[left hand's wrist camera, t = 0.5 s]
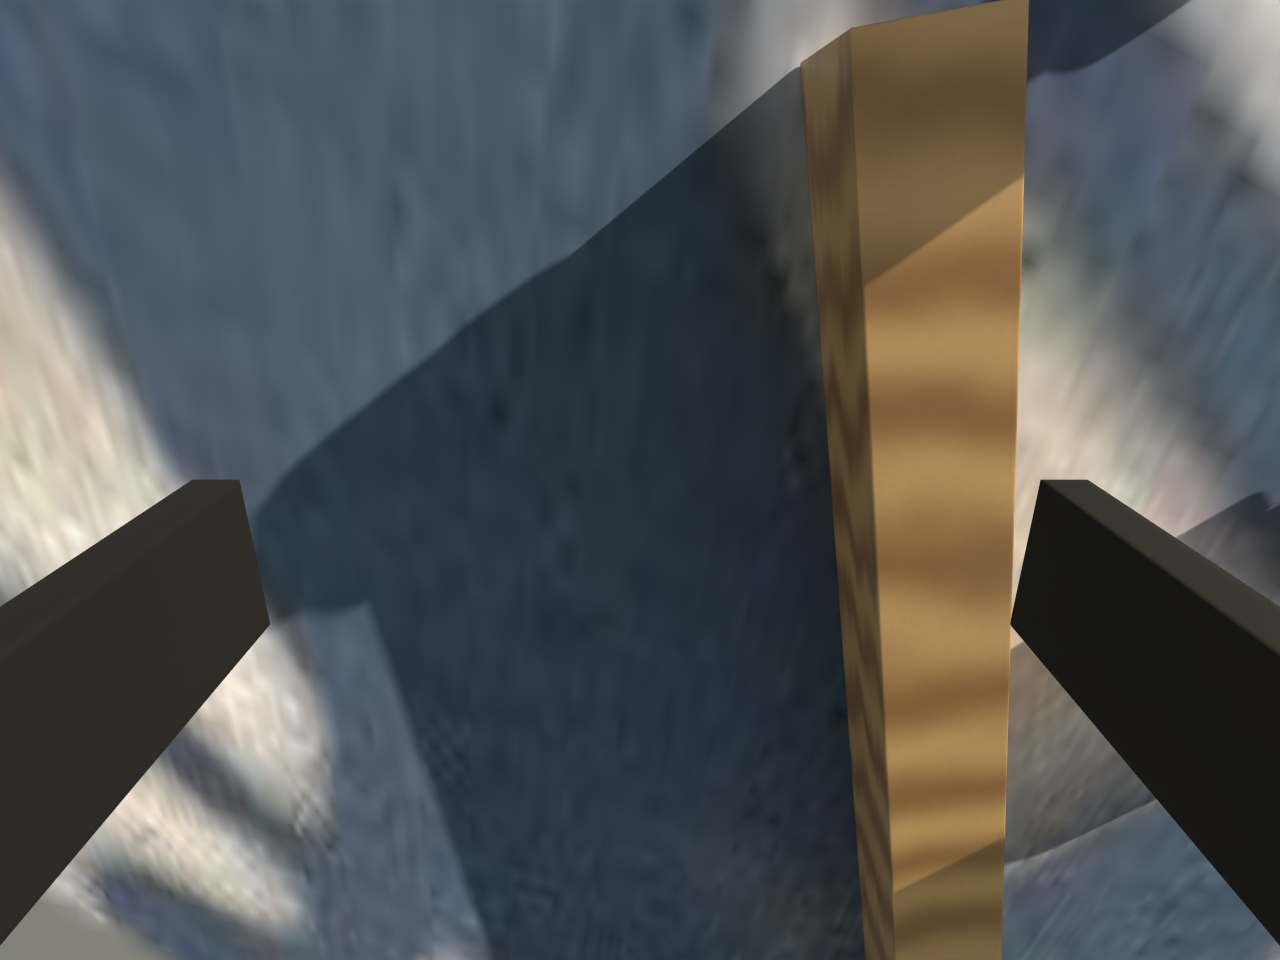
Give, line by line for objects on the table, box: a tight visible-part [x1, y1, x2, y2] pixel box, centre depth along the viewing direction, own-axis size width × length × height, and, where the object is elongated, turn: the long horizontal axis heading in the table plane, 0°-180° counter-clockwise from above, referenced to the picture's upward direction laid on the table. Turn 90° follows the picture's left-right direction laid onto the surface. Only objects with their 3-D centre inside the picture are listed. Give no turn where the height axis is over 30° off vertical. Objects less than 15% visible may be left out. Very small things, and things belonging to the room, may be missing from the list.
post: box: [801, 0, 1029, 960], centre depth 39 cm, size 62×6×8 cm, turn 9°
